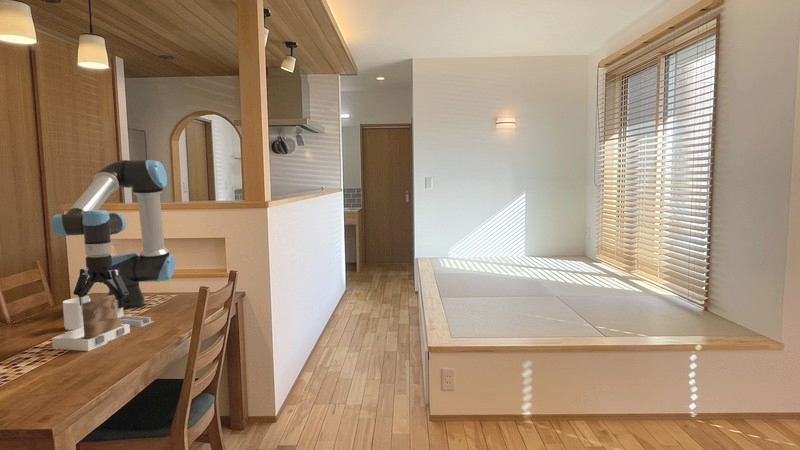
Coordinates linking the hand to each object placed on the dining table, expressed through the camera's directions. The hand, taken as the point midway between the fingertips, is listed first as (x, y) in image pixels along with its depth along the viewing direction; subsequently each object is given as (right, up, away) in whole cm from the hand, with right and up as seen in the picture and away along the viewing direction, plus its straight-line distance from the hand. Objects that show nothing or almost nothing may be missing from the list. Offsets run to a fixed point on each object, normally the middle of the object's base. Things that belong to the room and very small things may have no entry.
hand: (102, 316), depth 163 cm
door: (0, -8, +1) cm, 8 cm away
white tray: (-4, -9, +1) cm, 10 cm away
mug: (-18, -8, +16) cm, 25 cm away
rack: (-1, -7, +20) cm, 21 cm away
